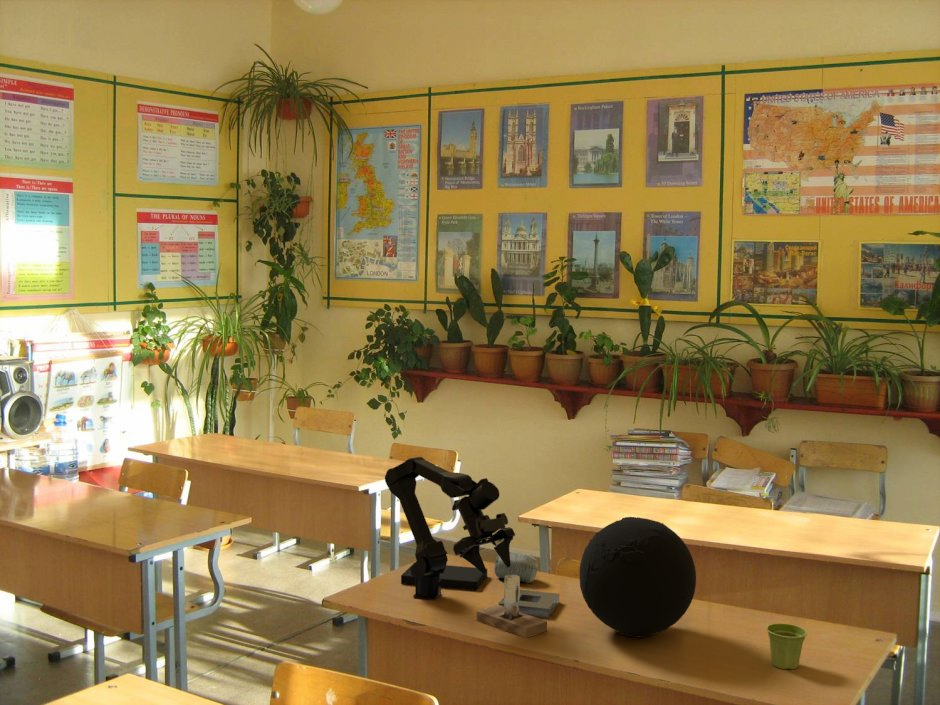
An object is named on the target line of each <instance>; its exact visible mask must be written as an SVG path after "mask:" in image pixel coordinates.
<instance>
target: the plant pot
mask: <svg viewBox="0 0 940 705" xmlns="http://www.w3.org/2000/svg"><path fill="white" fill-rule="evenodd" d="M766 631H767V635H768V639H769V646H770V648H769V649H770V658H771V664H772V665H773V666H774V667H776V668H778V669H781V670H788V669H789V670H790V669H791V670H795V669H798V667H799V664H800V658H801V654H802V649H803V644H804V642H805V639H806V636H807V635H808V631H807V629H805V627H804V628H803V627H801V626H799V625H796V624H792V623H786V622H785V623H783V622H779V623H771V624H768V625H766Z"/></svg>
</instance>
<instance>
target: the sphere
mask: <svg viewBox="0 0 940 705" xmlns="http://www.w3.org/2000/svg"><path fill="white" fill-rule="evenodd" d="M578 571H579V573H578V574H579V587H580V591H581V594H582V598H583V599H584V601H585V603H586V605H587V608H589V610H590V611H591V612H592V614H594V616H595V617H596V618H598V621H601V622H602V623H603V624H604V625H606V626H607V627H608V628H610V629H613V630H614V631H616V632H619V633H620V634H622V635H623V636H624V635H626V636H629V637H633V638H642V637H643V638H645V637H649V636H650V637H651V636H652V635H655V634H658V633H661V632H663V631H665V630H667V629H669V628H670V627H672V626H673V625H675V624H676V623H678V622H679V621H680V619H681V618H683V616H684V615H685V614H686V612H687V611H688V610H689V608H690V606H691V603H692V602H693V598H694V596H695V592H696V588H697V571H696V565H695V562H694V559H693V555H692V554H691V551H690V550H689V547H688V546H687V545H686V543H685V542H684V541H683V539H682V538H681V537H680V536H679V535H678V534H677V533H676V532H675V531H674V530H673V529H671V528H669V526H667V525H666V524H664V522H660V521H657V520H653V519H649V518H644V517H639V516H637V517H635V516H627V517H622V518H621V519H619V520H615V521H614V522H611V523H609V524H607V525H606V526H604V527H603V528H602V529H601V530H599V531H597V532H596V533H595V534H594V535H593V537H592V538H591V539H590V540H589V542H588V544H587V545H586V546H585V548H584V550H583V554H582V556H581V560H580V565H579V570H578Z"/></svg>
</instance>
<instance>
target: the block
mask: <svg viewBox="0 0 940 705" xmlns="http://www.w3.org/2000/svg"><path fill="white" fill-rule="evenodd" d="M559 604H560V593H556V592H555V593H554V592H547V591H537V590H536V591H535V590H530V589H529V590H528V589H520V592H519V612H521V613H524V614H527V615H530V616H533V617H536V618H546V619H549V618H550V616H551V615H552V614H553V612H554V611H555V609H556V608H557V606H559ZM497 605H500V606H503V607H504V597H503V598H502V599H501V600H500V601H499V602H498V604H497Z"/></svg>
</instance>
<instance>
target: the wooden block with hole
mask: <svg viewBox="0 0 940 705" xmlns="http://www.w3.org/2000/svg"><path fill="white" fill-rule="evenodd" d="M475 621H477V622H481V623H484V624H485V625H486V624H487V625H489V626H492V627H494V628H497V629H500V630H504V631H506V632H509V633H510V634H511V633H512V634H514V635H517V636H519V637H521V638H526V639H527V638H529V637H532V636H536V635H539V634H542V633H544V632H547V631H548V621H547V620H544V619H543V618H542V619H541V618H540V617H535V616H530V615H527V614H524V613H521V612H519V618H516V619H513V620H508V619H505V618H504V607H503V606H500V605H498V604H495V605H491V606H488V607H485V608H482V609H479V610H476V620H475Z"/></svg>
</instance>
